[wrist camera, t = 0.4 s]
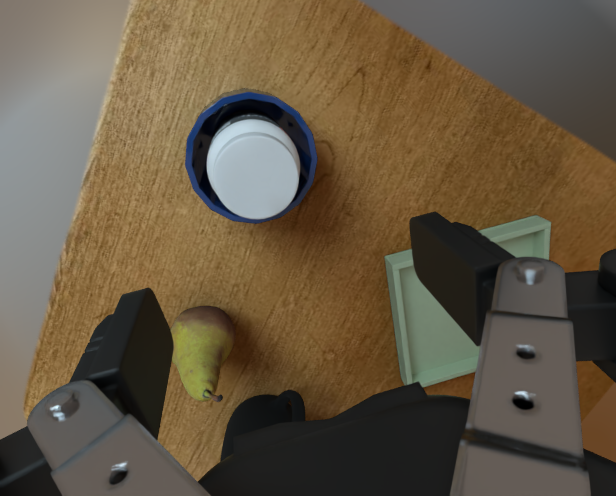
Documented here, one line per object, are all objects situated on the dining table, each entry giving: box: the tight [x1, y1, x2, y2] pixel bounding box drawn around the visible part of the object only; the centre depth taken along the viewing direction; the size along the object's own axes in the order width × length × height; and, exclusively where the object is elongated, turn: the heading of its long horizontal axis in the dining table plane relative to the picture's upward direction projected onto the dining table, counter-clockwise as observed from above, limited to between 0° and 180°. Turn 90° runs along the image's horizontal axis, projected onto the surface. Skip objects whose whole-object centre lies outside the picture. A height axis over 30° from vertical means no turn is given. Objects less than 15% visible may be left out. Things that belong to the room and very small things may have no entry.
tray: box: [385, 215, 551, 387], centre depth 40 cm, size 15×15×2 cm
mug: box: [220, 390, 305, 462], centre depth 38 cm, size 12×9×10 cm
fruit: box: [171, 306, 236, 402], centre depth 31 cm, size 6×6×12 cm
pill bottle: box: [207, 110, 300, 219], centre depth 27 cm, size 6×6×10 cm
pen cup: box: [185, 88, 317, 224], centre depth 29 cm, size 8×8×6 cm
